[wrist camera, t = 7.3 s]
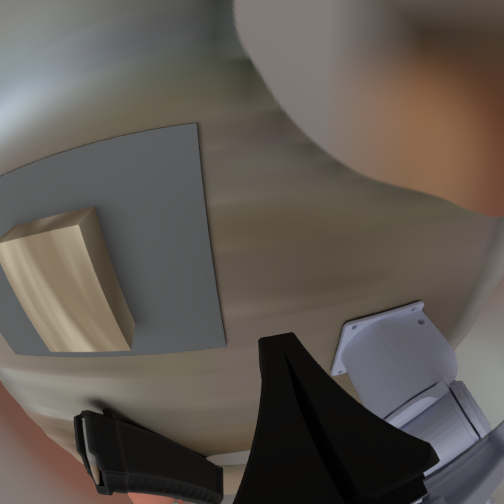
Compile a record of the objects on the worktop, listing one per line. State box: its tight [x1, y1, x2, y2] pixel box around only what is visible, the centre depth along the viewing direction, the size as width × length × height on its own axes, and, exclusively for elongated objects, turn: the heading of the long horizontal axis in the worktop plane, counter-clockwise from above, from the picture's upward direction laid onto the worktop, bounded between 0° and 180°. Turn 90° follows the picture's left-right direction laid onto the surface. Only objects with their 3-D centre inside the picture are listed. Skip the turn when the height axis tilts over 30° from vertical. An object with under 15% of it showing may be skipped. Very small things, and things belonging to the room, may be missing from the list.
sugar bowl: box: [127, 493, 183, 504], centre depth 38 cm, size 12×14×10 cm
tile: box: [0, 206, 135, 352], centre depth 14 cm, size 2×9×7 cm
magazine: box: [74, 409, 223, 504], centre depth 26 cm, size 17×3×30 cm
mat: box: [0, 123, 226, 357], centre depth 15 cm, size 22×16×1 cm
